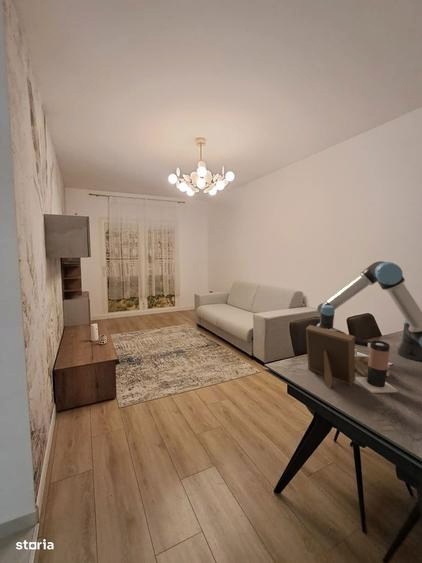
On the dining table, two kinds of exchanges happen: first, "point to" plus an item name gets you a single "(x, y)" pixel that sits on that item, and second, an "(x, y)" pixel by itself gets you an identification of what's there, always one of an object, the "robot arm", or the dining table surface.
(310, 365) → the photo frame
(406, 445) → the dining table surface
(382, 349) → the travel mug
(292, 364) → the dining table surface
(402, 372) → the dining table surface
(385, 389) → the pad
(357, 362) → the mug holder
